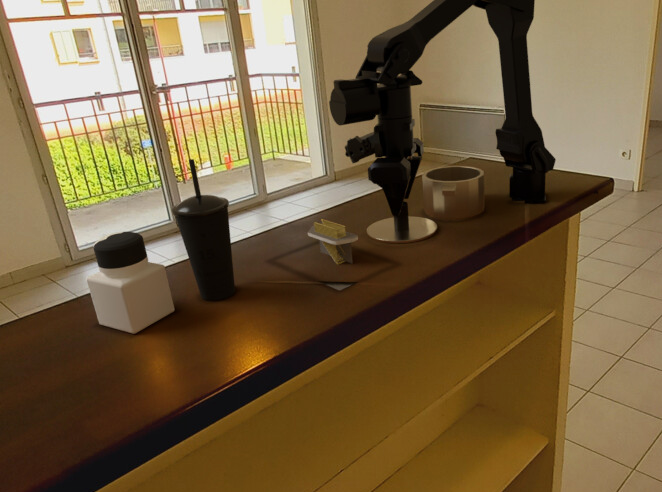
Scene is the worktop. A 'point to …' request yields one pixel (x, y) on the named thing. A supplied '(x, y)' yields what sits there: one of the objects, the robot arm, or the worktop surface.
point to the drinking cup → (207, 241)
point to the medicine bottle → (128, 284)
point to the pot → (453, 192)
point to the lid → (402, 228)
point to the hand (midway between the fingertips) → (400, 206)
